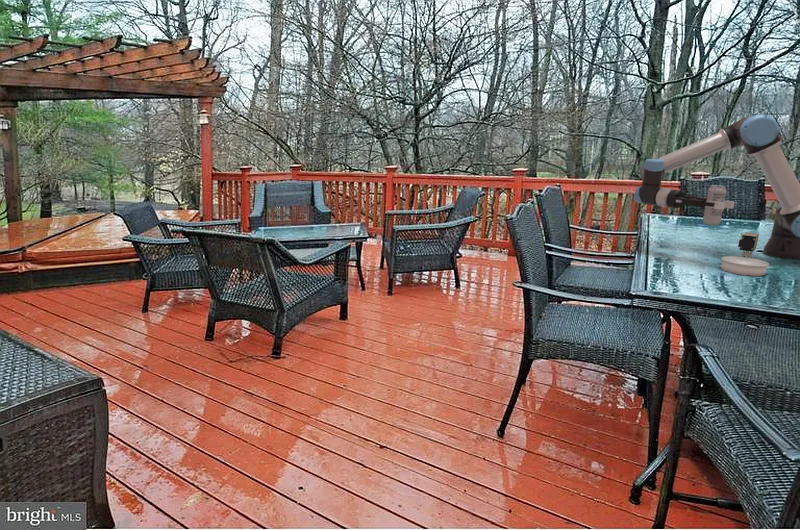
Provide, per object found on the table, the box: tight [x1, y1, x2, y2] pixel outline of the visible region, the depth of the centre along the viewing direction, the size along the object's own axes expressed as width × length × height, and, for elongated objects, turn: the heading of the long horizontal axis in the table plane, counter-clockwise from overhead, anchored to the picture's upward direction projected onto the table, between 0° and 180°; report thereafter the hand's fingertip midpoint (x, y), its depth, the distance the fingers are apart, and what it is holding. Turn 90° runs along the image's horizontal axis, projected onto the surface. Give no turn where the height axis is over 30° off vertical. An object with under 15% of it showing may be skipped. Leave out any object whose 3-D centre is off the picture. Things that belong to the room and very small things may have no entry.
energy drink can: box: [702, 184, 727, 226], centre depth 196 cm, size 6×6×15 cm
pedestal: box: [720, 255, 770, 277], centre depth 190 cm, size 15×15×4 cm
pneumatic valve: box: [737, 231, 760, 258], centre depth 207 cm, size 6×12×12 cm, turn 139°
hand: (728, 205), depth 192 cm, fingers closed on energy drink can, 6 cm apart
